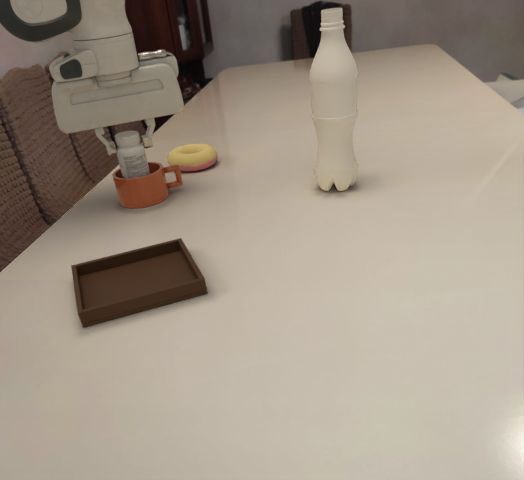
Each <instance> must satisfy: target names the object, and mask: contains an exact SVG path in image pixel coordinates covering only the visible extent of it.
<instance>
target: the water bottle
mask: <svg viewBox="0 0 524 480" xmlns="http://www.w3.org/2000/svg"><path fill="white" fill-rule="evenodd" d="M343 13H344V12H343V7H331V8H325V9H321V11H320V17H321V18H320V20H321V22H320V27H319V31H320V32H321V33H320V42H319V44H318V47H317V50H316V53H315V55H314V57H313V61H312V63H311V66H310V70H309V75H308V76H309V77H308V81H309V82H310V83H309V85H310V86H309V87H310V109H311V113H310V118H311V120H312V123H313V126H314V128H315V133H316V142H317V155H316V161H315V164H314V167H313V173H314V178H315V179H316V183H317V185H318V186H319V188H320V189H321V190H322V191H326V192H329V191H330V190H331V189H332V186H334V185H335V188H336V190H337V191H338V192H343V191H346V190H348V188H349V187H350V186H353V185H354V184H355V183H356V181H357V178H358V172H359V163H358V162H357V161H358V160H357V158H356V154H355V150H354V143H353V142H354V141H353V138H354V129H355V125H356V121H357V119H358V116H359V108H358V76H359V69H358V66H357V63H356V60H355V58H354V56H353V54H352V51H351V49H350V48H349V46H348V43H347V41H346V38H345V33H344V29H345V28H346V25H345V24H344V22H345V21H344V19H343Z"/></svg>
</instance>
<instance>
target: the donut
mask: <svg viewBox="0 0 524 480" xmlns="http://www.w3.org/2000/svg"><path fill="white" fill-rule="evenodd" d="M217 160H218V152H217V150H216V148H215V147H214V146H212V145H210V144H208V143H189V144H184V145H180V146H177V147H174V148H172V149H171V150H170V152H169V153H168V155H167V163H168V166H172V165H179V167H180V172H198V171H202V170H205V169H207V168H210V167H212V166H214V165H215V163H217Z"/></svg>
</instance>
